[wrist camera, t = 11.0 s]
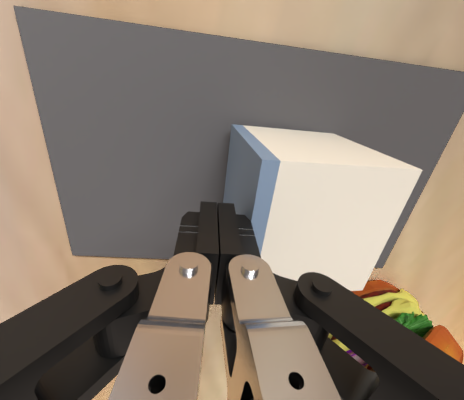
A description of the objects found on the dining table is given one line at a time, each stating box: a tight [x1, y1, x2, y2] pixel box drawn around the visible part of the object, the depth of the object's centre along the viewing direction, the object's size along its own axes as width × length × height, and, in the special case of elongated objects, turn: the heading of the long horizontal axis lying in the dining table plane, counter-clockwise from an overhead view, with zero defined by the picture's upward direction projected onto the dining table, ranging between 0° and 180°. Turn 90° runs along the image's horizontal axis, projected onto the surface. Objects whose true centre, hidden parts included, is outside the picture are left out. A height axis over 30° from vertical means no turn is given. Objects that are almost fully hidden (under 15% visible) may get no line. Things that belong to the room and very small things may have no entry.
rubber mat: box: [14, 6, 464, 268], centre depth 17 cm, size 27×16×1 cm, turn 84°
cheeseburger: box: [328, 280, 463, 372], centre depth 22 cm, size 10×11×10 cm
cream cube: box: [223, 124, 423, 291], centre depth 14 cm, size 7×7×7 cm
